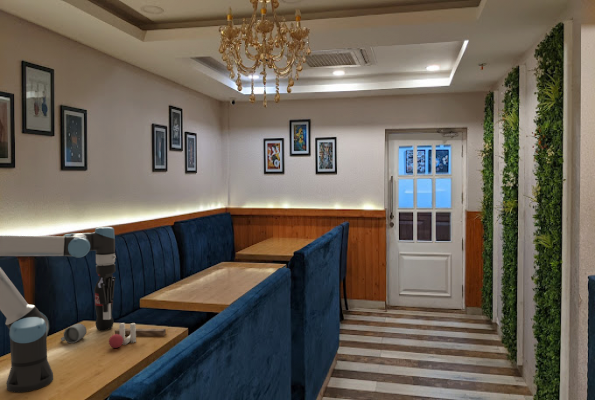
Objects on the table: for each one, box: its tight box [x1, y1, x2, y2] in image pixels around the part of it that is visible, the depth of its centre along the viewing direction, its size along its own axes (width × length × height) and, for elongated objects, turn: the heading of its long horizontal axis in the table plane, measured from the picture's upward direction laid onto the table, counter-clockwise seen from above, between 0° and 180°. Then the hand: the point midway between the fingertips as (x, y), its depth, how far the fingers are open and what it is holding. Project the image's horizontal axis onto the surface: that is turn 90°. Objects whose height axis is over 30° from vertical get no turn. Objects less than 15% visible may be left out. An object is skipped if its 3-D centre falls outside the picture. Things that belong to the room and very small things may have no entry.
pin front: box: [122, 335, 131, 346], centre depth 217 cm, size 2×2×8 cm
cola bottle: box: [93, 274, 114, 332], centre depth 235 cm, size 8×8×30 cm
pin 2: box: [129, 322, 137, 344], centre depth 216 cm, size 2×2×8 cm
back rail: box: [114, 328, 167, 337], centre depth 226 cm, size 24×3×2 cm, turn 87°
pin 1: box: [118, 322, 126, 340], centre depth 217 cm, size 2×2×8 cm
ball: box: [108, 333, 123, 349], centre depth 209 cm, size 6×6×6 cm
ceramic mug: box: [60, 323, 88, 344], centre depth 220 cm, size 11×8×8 cm
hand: (107, 318), depth 197 cm, fingers closed
